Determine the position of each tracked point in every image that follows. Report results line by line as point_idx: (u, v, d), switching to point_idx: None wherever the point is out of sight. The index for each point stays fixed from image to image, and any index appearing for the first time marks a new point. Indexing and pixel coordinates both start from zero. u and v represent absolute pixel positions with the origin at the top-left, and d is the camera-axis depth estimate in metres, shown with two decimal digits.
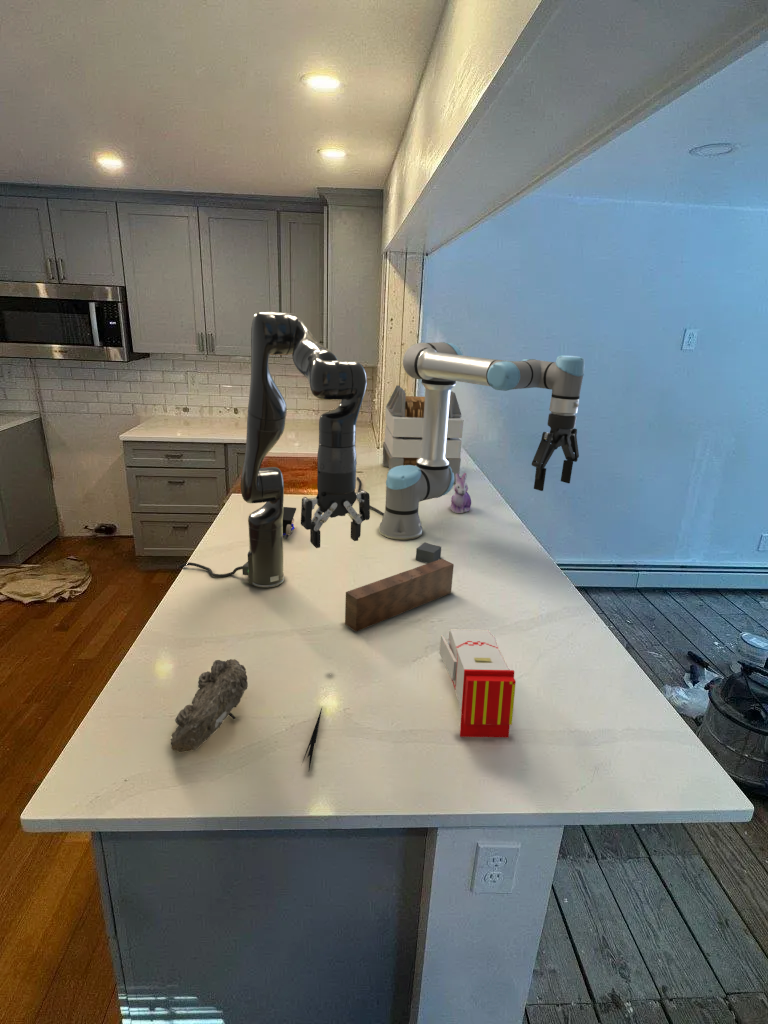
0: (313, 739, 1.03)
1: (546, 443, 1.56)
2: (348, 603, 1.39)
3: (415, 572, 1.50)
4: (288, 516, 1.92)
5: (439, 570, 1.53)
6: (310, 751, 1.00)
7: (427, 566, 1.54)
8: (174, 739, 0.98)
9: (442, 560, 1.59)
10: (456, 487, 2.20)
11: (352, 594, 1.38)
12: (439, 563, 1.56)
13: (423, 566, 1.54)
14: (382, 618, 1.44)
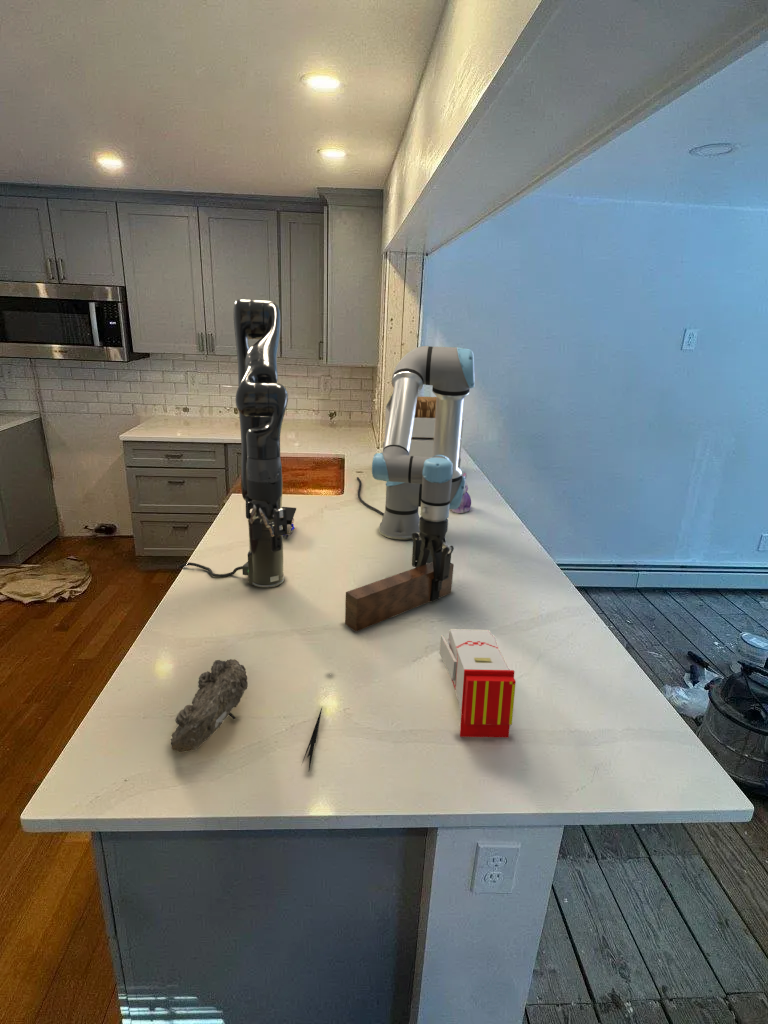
0: (313, 739, 1.03)
1: None
2: (348, 603, 1.39)
3: (415, 572, 1.50)
4: (288, 516, 1.92)
5: None
6: (310, 751, 1.00)
7: (427, 566, 1.54)
8: (174, 739, 0.98)
9: None
10: None
11: (352, 594, 1.38)
12: None
13: (423, 566, 1.54)
14: (382, 618, 1.44)
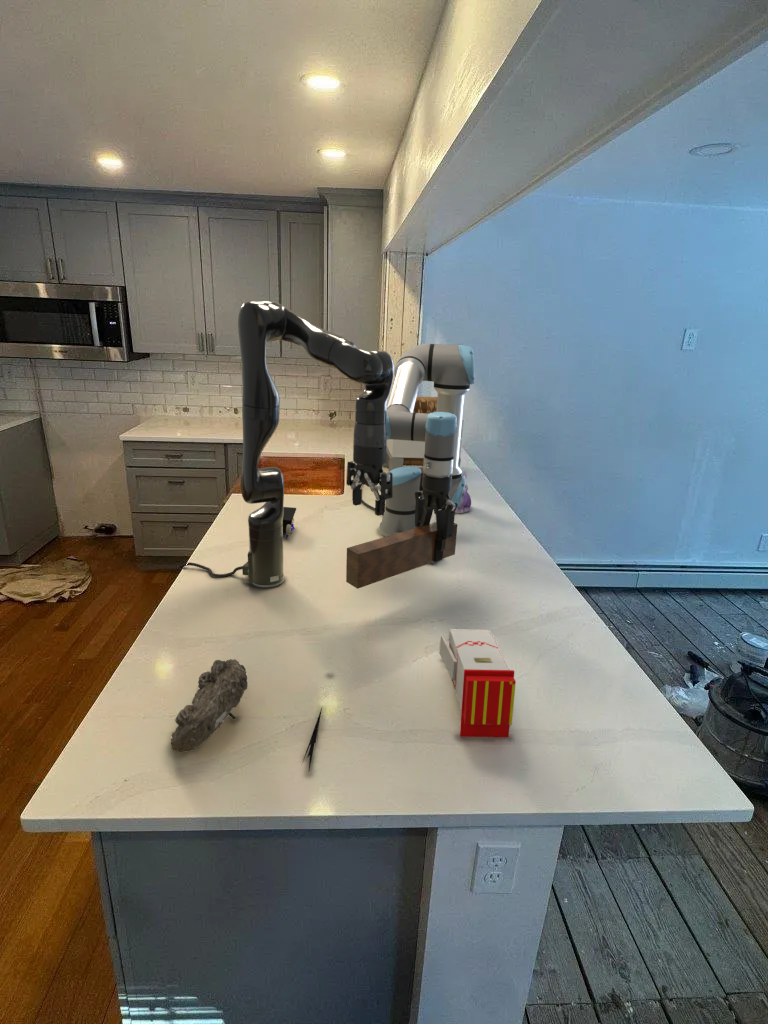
0: (313, 739, 1.03)
1: None
2: (349, 559, 1.35)
3: (418, 531, 1.46)
4: (288, 516, 1.92)
5: None
6: (310, 751, 1.00)
7: (430, 526, 1.51)
8: (174, 739, 0.98)
9: None
10: None
11: (353, 549, 1.34)
12: None
13: (427, 526, 1.50)
14: (384, 577, 1.40)
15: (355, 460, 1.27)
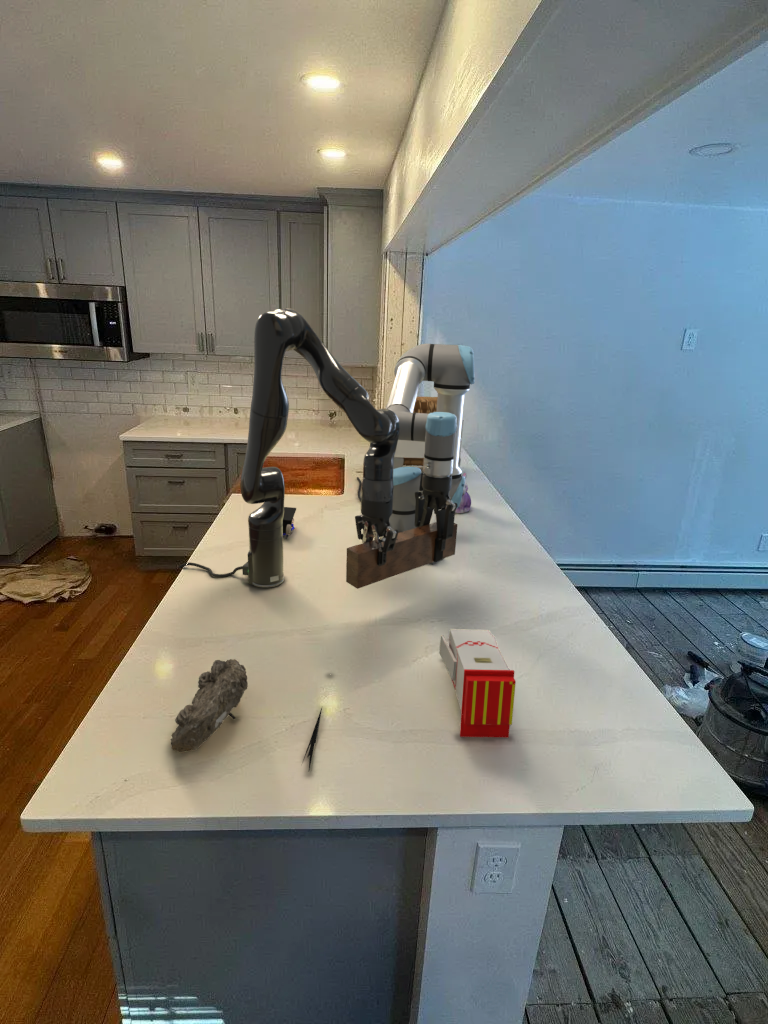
0: (313, 739, 1.03)
1: None
2: (349, 559, 1.35)
3: (418, 531, 1.46)
4: (288, 516, 1.92)
5: None
6: (310, 751, 1.00)
7: (430, 526, 1.51)
8: (174, 739, 0.98)
9: None
10: None
11: (353, 549, 1.34)
12: None
13: (427, 526, 1.50)
14: (384, 577, 1.40)
15: (363, 513, 1.33)
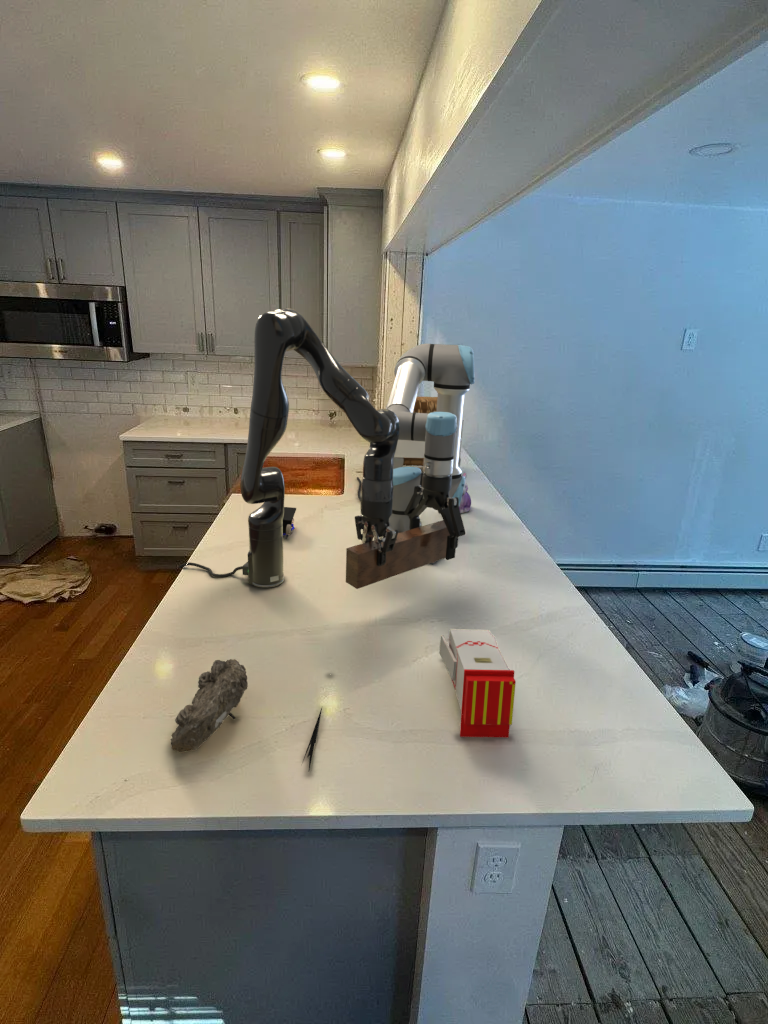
0: (313, 739, 1.03)
1: None
2: (349, 560, 1.35)
3: (417, 531, 1.47)
4: (288, 516, 1.92)
5: (442, 529, 1.49)
6: (310, 751, 1.00)
7: (429, 526, 1.51)
8: (174, 739, 0.98)
9: None
10: None
11: (352, 550, 1.34)
12: (442, 524, 1.53)
13: (426, 526, 1.50)
14: (384, 577, 1.40)
15: (363, 513, 1.33)
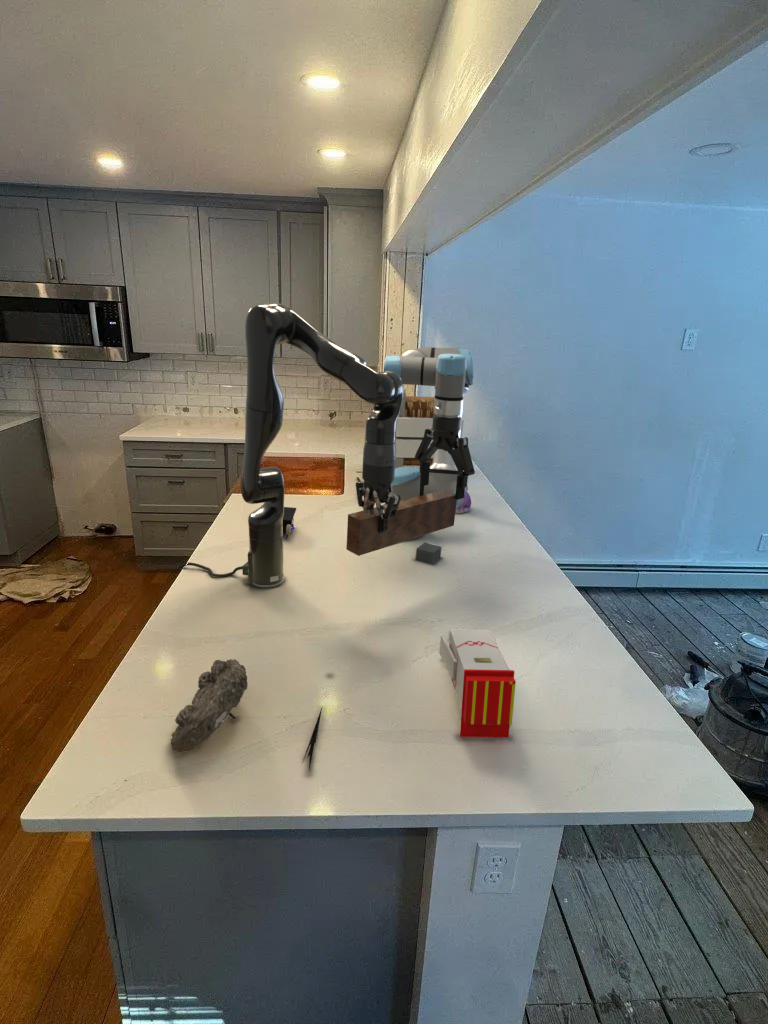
0: (313, 739, 1.03)
1: None
2: (350, 526, 1.32)
3: (418, 500, 1.44)
4: (288, 516, 1.92)
5: (443, 499, 1.48)
6: (310, 751, 1.00)
7: (430, 495, 1.49)
8: (174, 739, 0.98)
9: (445, 491, 1.53)
10: None
11: (354, 516, 1.31)
12: (442, 494, 1.51)
13: (426, 495, 1.48)
14: (385, 545, 1.37)
15: (364, 478, 1.30)
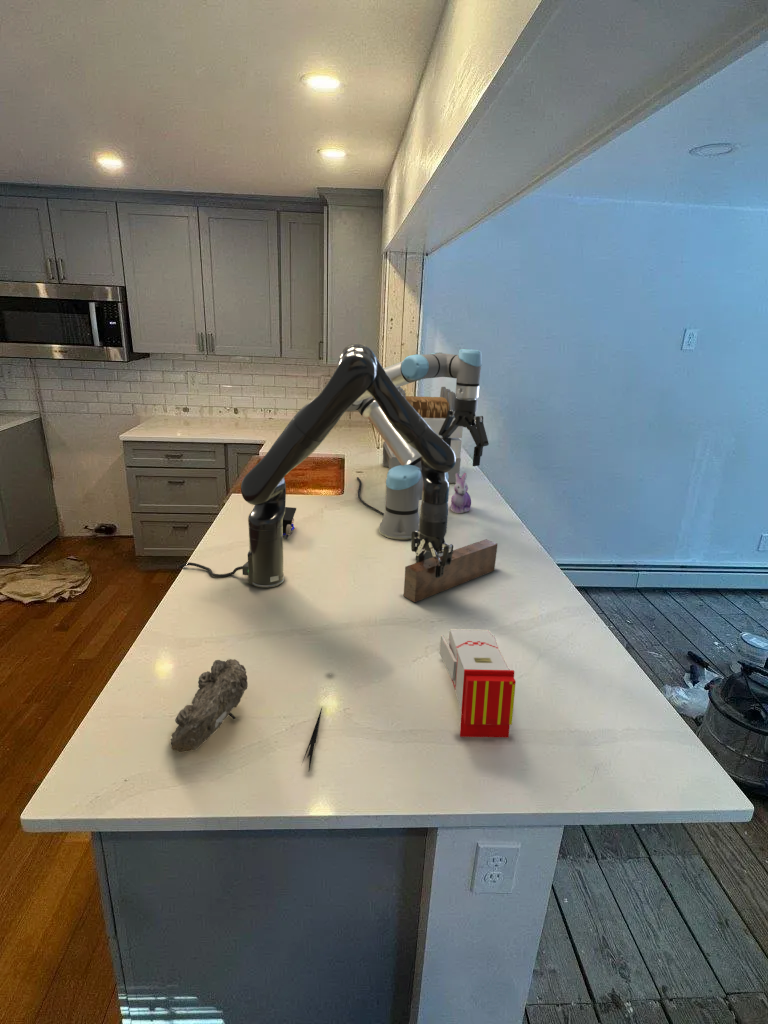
0: (313, 739, 1.03)
1: None
2: (407, 576, 1.54)
3: (464, 551, 1.66)
4: (288, 516, 1.92)
5: (485, 548, 1.68)
6: (310, 751, 1.00)
7: (473, 545, 1.70)
8: (174, 739, 0.98)
9: (486, 540, 1.74)
10: (456, 487, 2.20)
11: (411, 568, 1.53)
12: (484, 543, 1.72)
13: (471, 545, 1.69)
14: (436, 591, 1.59)
15: (421, 532, 1.51)
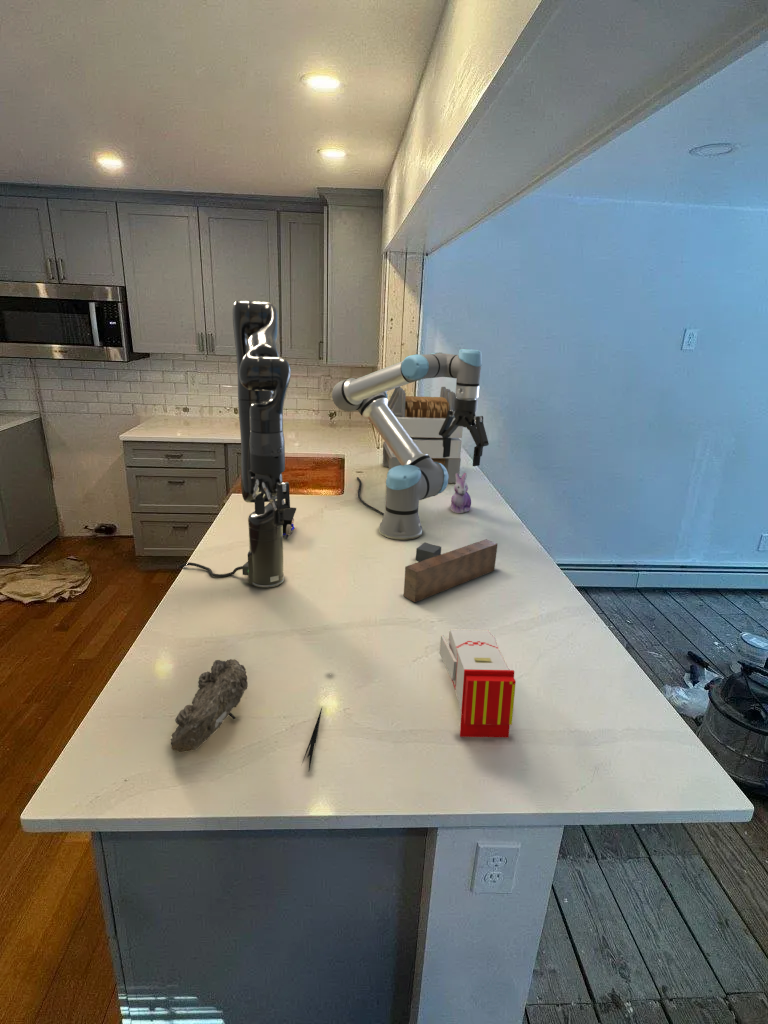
0: (313, 739, 1.03)
1: None
2: (407, 576, 1.54)
3: (464, 551, 1.66)
4: (288, 516, 1.92)
5: (485, 548, 1.68)
6: (310, 751, 1.00)
7: (473, 545, 1.70)
8: (174, 739, 0.98)
9: (486, 540, 1.74)
10: (456, 487, 2.20)
11: (411, 568, 1.53)
12: (484, 543, 1.72)
13: (471, 545, 1.69)
14: (436, 591, 1.59)
15: (251, 469, 1.24)
